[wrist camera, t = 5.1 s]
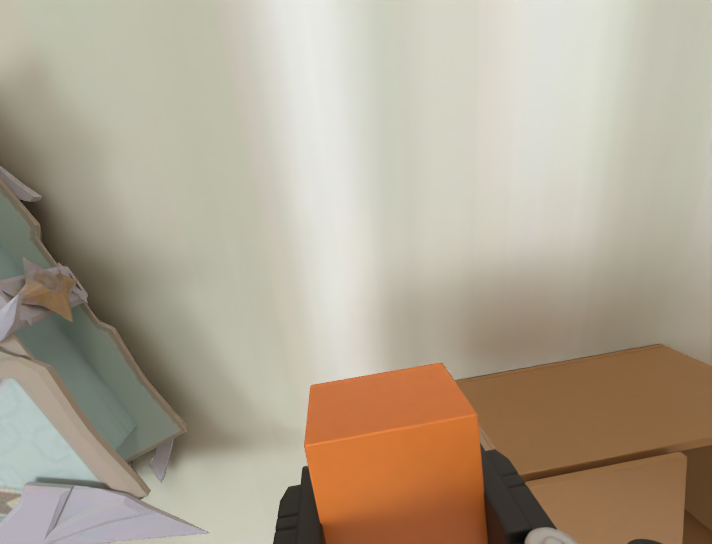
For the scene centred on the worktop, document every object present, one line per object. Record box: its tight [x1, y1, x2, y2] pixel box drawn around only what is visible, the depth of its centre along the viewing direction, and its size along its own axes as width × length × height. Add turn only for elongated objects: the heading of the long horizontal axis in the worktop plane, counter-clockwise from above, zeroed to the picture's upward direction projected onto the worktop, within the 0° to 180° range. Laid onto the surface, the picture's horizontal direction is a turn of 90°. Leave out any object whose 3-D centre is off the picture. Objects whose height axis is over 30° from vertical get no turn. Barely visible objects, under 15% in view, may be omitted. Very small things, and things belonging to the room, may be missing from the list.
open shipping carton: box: [455, 344, 712, 544], centre depth 24 cm, size 17×13×10 cm
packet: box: [304, 363, 488, 544], centre depth 11 cm, size 7×4×3 cm, turn 9°
